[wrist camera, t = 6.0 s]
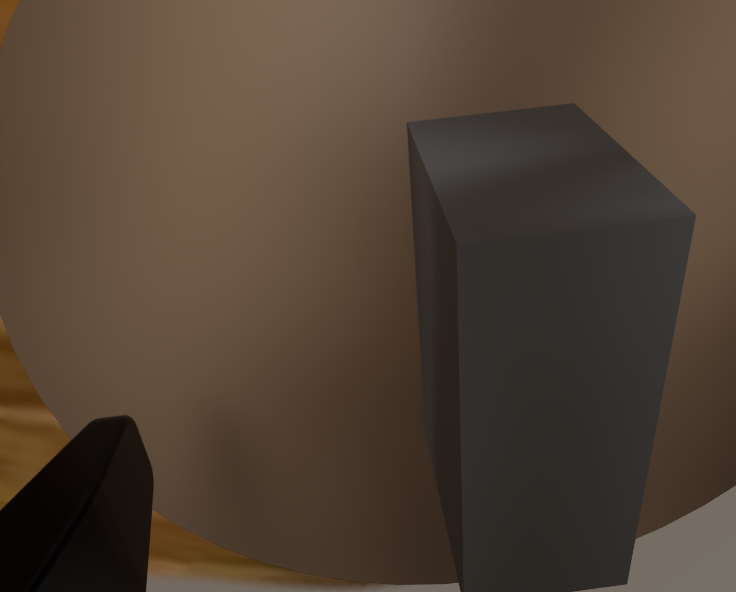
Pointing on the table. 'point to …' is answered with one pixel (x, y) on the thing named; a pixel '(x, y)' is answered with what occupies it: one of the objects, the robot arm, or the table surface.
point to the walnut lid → (385, 270)
